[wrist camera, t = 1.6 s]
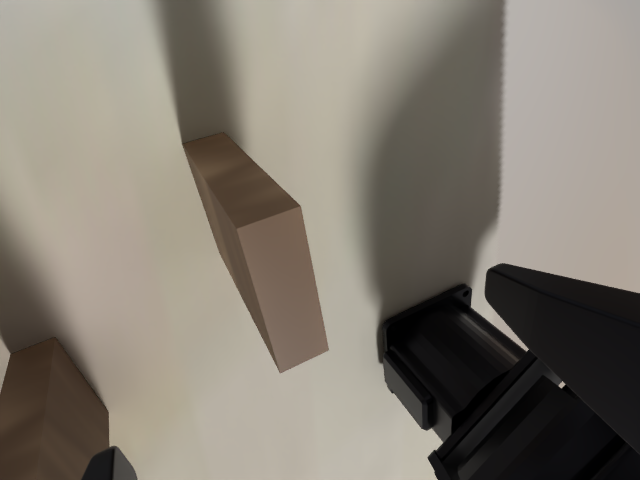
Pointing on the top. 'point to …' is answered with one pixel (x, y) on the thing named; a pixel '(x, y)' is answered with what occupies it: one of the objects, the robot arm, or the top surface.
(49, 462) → the domino
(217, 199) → the domino
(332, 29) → the top surface
